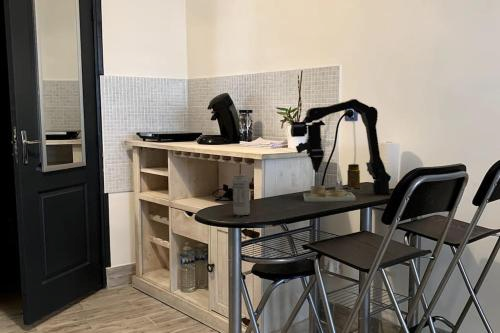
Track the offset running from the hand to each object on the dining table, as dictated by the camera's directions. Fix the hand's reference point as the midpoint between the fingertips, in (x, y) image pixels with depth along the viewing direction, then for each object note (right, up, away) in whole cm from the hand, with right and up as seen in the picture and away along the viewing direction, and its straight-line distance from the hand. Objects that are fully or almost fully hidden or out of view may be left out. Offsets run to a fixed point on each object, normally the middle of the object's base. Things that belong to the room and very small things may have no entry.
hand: (315, 171), depth 224 cm
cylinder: (+12, -11, +8) cm, 18 cm away
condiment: (+22, -9, +27) cm, 36 cm away
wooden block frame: (+5, -11, -6) cm, 14 cm away
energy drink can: (-32, -16, -38) cm, 53 cm away
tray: (+5, -12, -6) cm, 14 cm away
